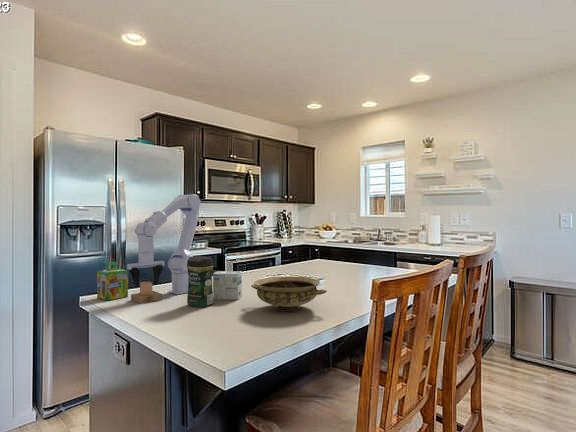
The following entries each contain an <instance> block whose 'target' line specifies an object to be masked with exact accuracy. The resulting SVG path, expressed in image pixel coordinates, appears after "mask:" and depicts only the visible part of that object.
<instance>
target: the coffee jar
mask: <svg viewBox="0 0 576 432" xmlns="http://www.w3.org/2000/svg"><path fill="white" fill-rule="evenodd" d="M187 270H188V293H187V297H186V303H187V305H188V306H191V307H196V308H202V307H203V308H205V307H210V306H211V305H213V304H214V300H213V270H214V263H213V258H211V257H209V256H200V255H198V256H196V255H195V256H193V257H189V259H188V261H187Z"/></svg>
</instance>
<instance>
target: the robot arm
mask: <svg viewBox="0 0 576 432" xmlns="http://www.w3.org/2000/svg"><path fill="white" fill-rule="evenodd" d="M201 204H202V203H201V199H200V198H199V196H198V195H197V194H195V193H193V194H178V195H177V196H176V197H175V198H174V199H173V200H172V201H171V202H170V203H168V205H166V206H165V207H164V209H162V210H161V211H160V210H155V211H154V212H152V214H151V215H150V216H149V217H148V218H145V219H144V221H141V222H139V223H138V224H136V226H135V229H134V232H135V234H136V236H137V242H138V244H137V246H138V247H137V248H138V249H137V250H138V262H134V263H128V264H126V270H128V273H130V275H131V277H132V280H133V283H134V285H135V288H140V273H141V271H140V270H139V269H143V268H145V269H146V268H152V273H153V284H154V285H159V279H160V275H161V274H162V271H163V270H164V266H165V260H157V261H156V260H155V255H154V253H155V252H154V249H155V248H154V236H155V235H156V234H157V230H158V229H160V227H162V226H163V225H165V223H166V222H167V221H168V217H170V216H171V215H172V214H173V213H175V212H176V211H178V210H180V211H181V212H182V214H184V215H185V218H184V219H185V220H184V223H183V227H182V230H181V235H180V237H179V242H178V245H177V249H176V250H175V251H173V252H172V254H171V257H170V258H169V259H168V261H167V267H168V269H169V270H170V273H171V290H168V291H167V293H170V294H174V295H181V294H186V293H187V294H188V270H187V261H188V259H189V257H194V256H193V255H192V254H191V252H190V251H191V247H192V245H193V239H194V236H195V232H196V229H197V226H198V220H199V216H200V206H201ZM154 260H155V261H154Z"/></svg>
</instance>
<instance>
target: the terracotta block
mask: <svg viewBox="0 0 576 432" xmlns="http://www.w3.org/2000/svg"><path fill="white" fill-rule="evenodd" d="M152 291H153V282H152V281H143V282H139V293H140V295H141V296H143V295H152Z"/></svg>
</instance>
